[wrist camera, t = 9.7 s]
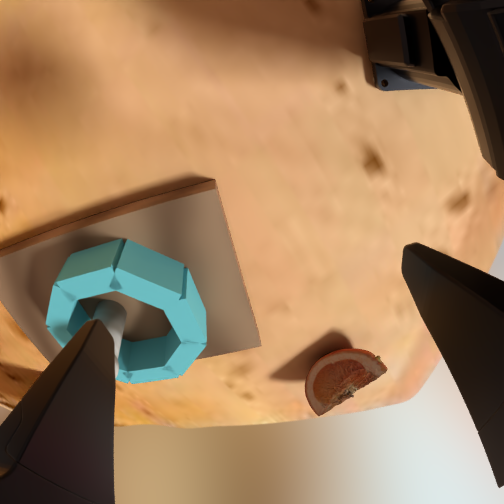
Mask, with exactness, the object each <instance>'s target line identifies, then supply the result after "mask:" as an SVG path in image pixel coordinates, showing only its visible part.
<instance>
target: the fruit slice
mask: <svg viewBox="0 0 504 504" xmlns="http://www.w3.org/2000/svg"><path fill="white" fill-rule="evenodd" d="M386 371H387V367H386V366H385V365H384V364H383V362H382V361H381V360H380V356H377V357H375V355H374V354H372V353H371V352H369V351H366V350H362V349H341V350H337V351H334V352H331V353H329V354H327V355H325V356H323V357H322V358H320V359H319V360H318V361H317V362H316V363H315V364H314V365H313V366H312V368H311V369H310V371H309V373H308V375H307V378H306V382H305V394H306V398H307V400H308V402H309V404H310V406H311V408H312V409H313V411H314V412H315V413H316V414H317V415H318V416H320V415H323V414H324V413H326V412H328V411H329V410H331V409H332V408H333V407H334V406H336V405H339V404H341V403H342V402H344V401H345V400H346V399H349V398H350V397H354V395H352V394H353V393H355V391H356V390H358V389H360V388H363V387H365V385H368V384H369V383H370V382H372V381H374V380H376V379H377V378H379V377H380V376H381V375H382V374H384V373H386Z"/></svg>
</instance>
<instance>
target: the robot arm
mask: <svg viewBox="0 0 504 504" xmlns="http://www.w3.org/2000/svg"><path fill="white" fill-rule="evenodd" d="M361 2H362V7H363V12H364V17H365V20H364V22H363V25H364V30H365V36H366V42H367V48H368V55H369V59H370V60H371V61H372V65H373V73H374V81H375V85H376V87H377V88H378V89H379V90H383V91H393V90H411V89H442V90H446V91H449V92H453V93H456V94H460V95H463V96H464V99H465V102H466V105H467V108H468V111H469V114H470V117H471V120H472V123H473V127H474V130H475V133H476V137H477V140H478V144H479V147H480V150H481V153H482V156H483V158H484V159H485V160H486V161H487V162H488V163H489V164H490V165H491V167H492V168H494V169H495V170H496V175H497V176H498V177H499V178H501V179H502V180H504V0H372V2H369V1H368V0H361ZM382 80H385V85H384V86H382V84H381V81H382ZM401 269H402V274H403V277H404V279H405V281H406V284H407V286H408V288H409V290H410V292H411V295H412V297H413V299H414V301H415V304H416V306H417V308H418V311H419V313H420V315H421V317H422V319H423V321H424V323H425V324H426V326H427V328H428V330H429V332H430V334H431V335H432V337H433V339H434V341H435V343H436V345H437V347H438V348H439V350H440V352H441V354H442V356H443V358H444V360H445V362H446V364H447V366H448V368H449V370H450V372H451V374H452V376H453V378H454V380H455V382H456V384H457V386H458V388H459V390H460V393H461V395H462V397H463V399H464V401H465V404H466V406H467V408H468V410H469V413H470V415H471V417H472V419H473V422H474V424H475V426H476V429H477V431H478V434H479V436H480V439H481V442H482V444H483V446H484V449H485V452H486V454H487V457H488V460H489V462H490V465H491V468H492V471H493V473H494V476H495V479H496V482H497V485H498V487H499V488H500V487H502V486H504V281H502V280H500V279H498V278H496V277H494V276H491V275H490V274H487V273H485V272H483V271H481V270H479V269H477V268H475V267H472V266H470V265H468V264H466V263H464V262H461V261H459V260H457V259H455V258H452V257H450V256H448V255H446V254H443V253H441V252H439V251H436V250H434V249H432V248H429V247H427V246H425V245H422V244H420V243H417V242H415V243H411V244H408V245H406V246H404V248H403V257H402V267H401ZM115 388H116V386H115V343H114V339H113V337H112V335H111V333H110V332H109V331H108V329H107V328H106V326H105V325H104V323H103V322H102V321H101V320H100V319H92V320H88V321H87V322H86V323H85V324H84V325H83V326H82V327H81V328H80V329H79V330H78V332H77V333H76V334H75V335H74V336H73V337H72V338H71V340H70V341H69V342H68V343H67V344H66V345H65V347H64V348H63V349H62V350H61V351H60V352H59V354H58V355H57V356H56V357H55V358H54V359H53V361H52V362H51V363H50V364H49V365H48V367H47V368H46V369H45V370H44V372H43V373H42V374H41V375H40V376H39V378H38V379H37V380H36V381H35V383H34V384H33V385H32V386H31V388H30V389H29V390H28V391H27V393H26V394H25V395H24V396H23V398H22V399H21V401H19V403H18V404H17V405H16V407H15V408H14V409H13V411H12V412H11V413H10V414H9V416H8V417H7V418H6V420H5V421H4V422H3V423H2V424H1V426H0V504H115V496H114V459H113V458H114V457H113V454H114V452H113V451H114V450H113V449H114V409H115Z"/></svg>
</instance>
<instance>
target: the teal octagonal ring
mask: <svg viewBox="0 0 504 504" xmlns="http://www.w3.org/2000/svg"><path fill="white" fill-rule="evenodd" d="M112 291H118V292H120V293H123V294H125V295H128V296H130V297H132V298H135V299H137V300H140V301H142V302H145V303H147V304H150V305H152V306H155V307H157V308H160V309H162V310H164V312H165V314H166V316H167V317H168V319H169V321H170V323H171V325H172V326H173V327H172V328H171V330H170V331H169V333H168V334H167V336H163V337H158V338H153V339H147V340H142V341H136V342H130V341H128V340H125V339H122V340H121V345H120V350H119V355H118V363H119V372H118V375H117V377H116V380H119V381H122V382H125V383H128V382H129V381H130V382H131V383H132V384H136V383H144V382H151V381H158V380H165V379H171V378H178V377H179V375H181V376H182V375H183V374H184V373H185V371H186V370H187V369H188V368H189V367H190V365H191V364H192V363H193V362H194V360H195V359H196V358H197V357H198V355H199V354H200V353H201V352H202V351H203V349H204V348H205V347H206V342H207V329H206V310H205V307H204V305H203V303H202V300H201V298H200V296H199V293H198V291H197V289H196V286H195V284H194V281H193V279H192V277H191V274H190V272H189V269H188V268H184V264H183V263H180V262H178V261H176V260H174V259H171V258H169V257H167V256H164V255H162V254H160V253H158V252H155V251H153V250H151V249H149V248H147V247H144V246H142V245H140V244H138V243H135V242H133V241H131V240H129V239H127V241H126V243H125V244H124V242H123V240H122V238H121V239H118V240H115V241H111V242H108V243H105V244H101V245H98V246H95V247H92V248H88V249H85V250H82V251H79V252H76V253H72V254H71V255H70V257H68V258H67V260H66V262H65V264H64V266H63V268H62V269H61V271H60V273H59V275H58V277H57V279H56V281H55V283H54V285H53V288H52V293H51V298H50V303H49V308H48V313H47V319H46V325H48V326H47V329H48V330H49V332H50V333H51V334H52V335H53V337H54V338H55V339H56V340H57V342H58V343H59V344H60V345H61V347H62V348H64V347H65V345H66V344H67V343H68V342H69V341H70V340H71V338H72V337H73V336H74V335H75V334H76V333H77V332H78V330H79V329H80V328H81V327H82V326H83V325H84V324H85V323H86V322H87V321H88V320H91V319H90V318H89V316H88V315H87V313H86V312H85V310H84V309H83V307H82V306H81V304H80V303H79V301H78V300H79V299H83V298H87V297H91V296H95V295H99V294H104V293H108V292H112Z"/></svg>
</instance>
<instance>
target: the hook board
mask: <svg viewBox="0 0 504 504" xmlns="http://www.w3.org/2000/svg"><path fill="white" fill-rule="evenodd" d="M121 238H122V240H123V242H124V244H125V243H126V241H127V239H129V240H131V241H133V242H135V243H138V244H140V245H142V246H144V247H147V248H149V249H151V250H153V251H155V252H158V253H160V254H162V255H164V256H167V257H169V258H171V259H174V260H176V261H178V262H180V263H183V264H184V268H188V269H189V272H190V274H191V277H192V279H193V281H194V284H195V286H196V289H197V291H198V293H199V296H200V298H201V300H202V303H203V305H204V307H205V310H206V329H207V342H206V347H205V348H204V349H203V351H202V352H201V353H200V354H199V355H198V357H197V358H196V359H202V358H207V357H212V356H217V355H222V354H227V353H232V352H237V351H241V350H246V349H251V348H255V347H259V346H261V341H260V336H259V331H258V328H257V325H256V321H255V318H254V314H253V311H252V307H251V304H250V301H249V297H248V294H247V290H246V287H245V283H244V280H243V276H242V273H241V269H240V266H239V262H238V259H237V255H236V252H235V248H234V245H233V241H232V238H231V234H230V231H229V227H228V224H227V220H226V217H225V213H224V209H223V206H222V202H221V199H220V195H219V191H218V188H217V184H216V181H215V180H211V181H207V182H204V183H200V184H196V185H192V186H189V187H185V188H181V189H178V190H174V191H171V192H167V193H164V194H160V195H157V196H153V197H150V198H147V199H143V200H140V201H137V202H133V203H130V204H127V205H124V206H121V207H117V208H114V209H111V210H108V211H105V212H102V213H99V214H96V215H93V216H90V217H87V218H84V219H81V220H78V221H75V222H73V223H70V224H67V225H64V226H61V227H59V228H56V229H53V230H50V231H48V232H45V233H42V234H40V235H37V236H34V237H32V238H29V239H27V240H24V241H22V242H19V243H17V244H14V245H12V246H9V247H7V248H4V249H2V250H0V301H1V302H2V304H3V305H4V307H5V308H6V309H7V311H8V312H9V313H10V315H11V316H12V317H13V319H14V320H15V321H16V323H17V324H18V325H19V327H20V328H21V329H22V330H23V332H24V333H25V334H26V335H27V337H28V338H29V339H30V340H31V342H32V343H33V344H34V345H35V346H36V347H37V349H38V350H39V351H40V352H41V353H42V354H43V356H44V357H45V358H46V359H47V360H48V361H49V362H50V363H51V362H52V361H53V359H54V358H55V357H56V356H57V355H58V354H59V352H60V351H61V350H62V349H63V348H62V347H61V345H60V344H59V343H58V342H57V340H56V339H55V338H54V337H53V335H52V334H51V333H50V332H49V330H48V329H47V326H48V325H46V319H47V313H48V308H49V303H50V298H51V293H52V288H53V285H54V283H55V281H56V279H57V277H58V275H59V273H60V271H61V269H62V268H63V266H64V264H65V262H66V260H67V258H68V257H70V255H71V254H72V253H76V252H79V251H82V250H85V249H88V248H92V247H95V246H98V245H101V244H105V243H108V242H111V241H115V240H118V239H121ZM78 301H79V303H80V304H81V306H82V307H83V309H84V310H85V312H86V313H87V315H88V316H89V318H90V319H91V320H92V319H100V320H101V321H102V322H103V323H104V325H105V326H106V328H107V329H108V331H109V332H110V333H111V335H112V337H113V339H114V343H115V379H116V377H117V375H118V372H119V363H118V355H119V350H120V345H121V340H122V339H125V340H128V341H130V342H136V341H142V340H147V339H153V338H158V337H163V336H167V334H168V333H169V331H170V330H171V328H172V327H173V326H172V325H171V323H170V321H169V319H168V317H167V316H166V314H165V312H164V310H162V309H160V308H157V307H155V306H152V305H150V304H147V303H145V302H142V301H140V300H137V299H135V298H132V297H130V296H128V295H125V294H123V293H120V292H118V291H112V292H108V293H104V294H99V295H95V296H91V297H87V298H83V299H79V300H78ZM196 359H195V360H196Z"/></svg>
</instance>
